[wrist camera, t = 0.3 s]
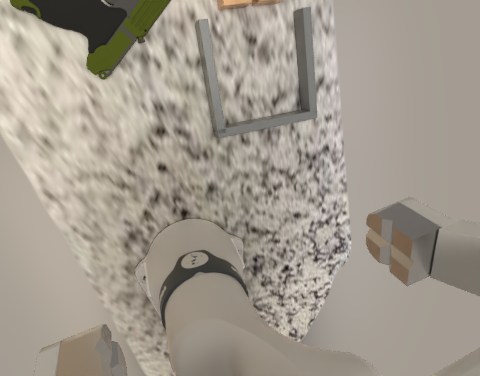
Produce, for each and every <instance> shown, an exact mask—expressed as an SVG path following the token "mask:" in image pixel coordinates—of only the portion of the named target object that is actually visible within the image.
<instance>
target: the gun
mask: <svg viewBox="0 0 480 376" xmlns="http://www.w3.org/2000/svg"><path fill="white" fill-rule="evenodd" d="M105 1H106V2H107V3H109V4H111V5H113V6H110V7H109V6H107V5H105V4H104V3H103V2H102V1H101V0H10V3H11V5H12V6H13V7H15V8H17V9H19V10H23V11H24V10H25V11H27V12H30V13H33V14H35V15H36V16H37V17H38V18H39V19H42V20H44V21H46V22H47V23H50V24H52V25H54V26H57V27H61V28H64V29H69V30H73V31H77V32H80V33H82V34H83V35H85V36H86V37H87V38H88V43H89V46H88V51H89V54H88V57H87V67H88V68H87V69H89V70H90V71H91V72H92V73H94V74H95V75H96V74H98V73H99V77H100V78H101V79H106V77H107V76H109V75H110V74H111V73H112V71H113V70H114V69H115V67H116V66H117V65H118V63H119V62H120V61H121V59H122V58H123V57H124V55H125V54H126V53H127V51H128V50H129V49H130V47H131V46H132V45H133V43H134V42H135V41H136V38H138V40H139V41H138V42H139V43H141V42H145V41H144V40H143V36H145V35H146V33H147V32H148V30H149V29H150V28H151V26H152V25H153V24H154V22H155V21H156V20H157V18H158V17H159V15H160V14H161V13H162V11H163V10H164V9H165V7H166V6H167V4H168V3H169V2H170V0H105ZM104 70H110V72H109V73H108V74H106V73H105V72H103V71H104ZM102 73H103V74H104V75H105V76H104V77H101V74H102Z"/></svg>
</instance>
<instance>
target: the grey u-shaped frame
mask: <svg viewBox="0 0 480 376" xmlns="http://www.w3.org/2000/svg"><path fill="white" fill-rule="evenodd" d="M294 22H295V36H296V49H297V62H298V75H299V88H300V101H301V110H299V111H294V112H289V113H284V114H279V115H274V116H269V117H263V118H258V119H253V120H248V121H243V122H238V123H233V124H228V125H225V123H224V117H223V111H222V105H221V99H220V92H219V86H218V80H217V74H216V68H215V61H214V55H213V49H212V43H211V37H210V30H209V24H208V19H202V20H198V21H197V22H196V23H195V26H196V32H197V38H198V44H199V49H200V55H201V61H202V67H203V72H204V78H205V84H206V90H207V95H208V101H209V107H210V112H211V118H212V124H213V130H214V135H215V136H217V137H218V138H221V137H226V136H231V135H236V134H241V133H245V132H250V131H255V130H260V129H265V128H270V127H275V126H280V125H284V124H289V123H294V122H299V121H304V120H309V119H314V118H317V105H316V88H315V72H314V55H313V38H312V21H311V7H306V8H302V9H299V10H297V11H295V12H294Z"/></svg>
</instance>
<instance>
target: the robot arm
mask: <svg viewBox="0 0 480 376" xmlns="http://www.w3.org/2000/svg"><path fill="white" fill-rule="evenodd" d="M366 224H367V226H368V227H369V228H370V230H369V231H368V233H367V235H366V245H367V247H368V250H369V252H370V253H371V255H372V256H373V257H374V258H375V259H376V260H377V261H378V262H379V263H382V264H385V265H389V269H390V272H391V273H392V274H393V275H394V276H395V277H397V278H398V279H399V280H400V281H401V282H403V283H404V284H405V285H406V286H409V285H411V284H413V283H416V282H418V281H420V280H422V279H424V278H427V277H429V276H430V277H431V278H433V279H436V280H439V281H441V282H444V283H446V284H449V285H452V286H454V287H457V288H459V289H462V290H465V291H467V292H470V293H473V294H476V295H478V296H480V223H477V222H471V221H465V220H459V221H455V220H453V219H451V218H450V217H447V216H446V215H444V214H442V213H440V212H439V211H437V210H435V209H433V208H431V207H430V206H428V205H426V204H424V203H422V202H420V201H419V200H417V199H415V198H411V197H408V198H405V199H403V200H401V201H398V202H396V203H395V204H392V205H389V206H387V207H384V208H382V209H380V210H377V211H375V212H373V213H371V214H369V215H368V217H367V223H366ZM243 248H244V245H243V242H242V240H241V239H240V238H239V237H236V236H233V235H230V234H227V233H226V232H225V231H223V230H222V229H221V228H220V227H219V226H218V225H216V224H214V223H212V222H210V221H207V220H203V219H186V220H181V221H178V222H176V223H173V224H171V225H170V226H168V227H166V228H165V229H164V230H162V231H161V232H160V233H159V234H158V235H157V237H156V238H155V239H154V241H153V242H152V244H151V246H150V249H149V251H148V253H147V255H146V257H145V258H144V259H143V260H142V261H141V262H140V263H139V264H138V265H137V266H136V268H135V276H136V278H137V280H138V281H139V283H140V285H141V286H142V288H143V290H144V291H145V293H146V295H147V296H148V298H149V300H150V301H151V303H152V305H153V307H154V308H155V310H156V312H157V313H158V315H159V317H160V318H161V320H162V323H163V325H164V328H165V329H166V333H167V342H168V350H169V358H170V363H171V366H172V368H173V371H174V372H175V374H176V376H384V375H383V374H382V373H381V372H380V371H379V370H378V369H376V368H375V367H374V366H373V365H371V364H370V363H369V362H367V361H366V360H364V359H362V358H361V357H359V356H357V355H355V354H352V353H349V352H339V351H330V350H324V349H319V348H315V347H311V346H308V345H305V344H302V343H300V342H297V341H295V340H293V339H290V338H288V337H286V336H284V335H282V334H281V333H279V332H277V331H276V330H274V329H273V328H271V327H270V326H269V325H268V324H266V323H265V322H264V321H263V319H262V318H261V317H260V315H259V314H258V312H257V311H256V309H255V308H254V306H253V305H252V303H251V301H250V300H249V298H248V291H247V287H246V285H245V282H244V281H246V279H247V277H246V273H245V272H243V269H244V268H245V265H244V262H243ZM144 276H146V278H143V277H144ZM33 376H127V367H126V362H125V358H124V355H123V352H122V350H121V348H120V346H119V344H118V343H117V342H114V341H111V331H110V330H109V328H108V327H107V325H105V324H102V325H100V326H97V327H95V328H92V329H89V330H87V331H84V332H81V333H79V334H77V335H74V336H71V337H69V338H66V339H64V340H62V341H60V342H57V343H55V344H52V345H49V346H46V347H44V348H42V349H41V350H40V352H39V354H38V356H37V361H36V365H35V370H34V375H33ZM432 376H480V348H478V349H476V350H475V351H473V352H471V353H470V354H468V355H466V356H464V357H463V358H461V359H459V360H458V361H456V362H454V363H452V364H451V365H449V366H447V367H446V368H444V369H442V370H440V371H439V372H437V373H435V374H434V375H432Z"/></svg>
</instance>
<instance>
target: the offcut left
mask: <svg viewBox="0 0 480 376" xmlns="http://www.w3.org/2000/svg"><path fill="white" fill-rule="evenodd" d="M217 2H218V9H219V10H221V9H231V8H240V7H246V6H248V5H249V4H250V3H252V0H217Z"/></svg>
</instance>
